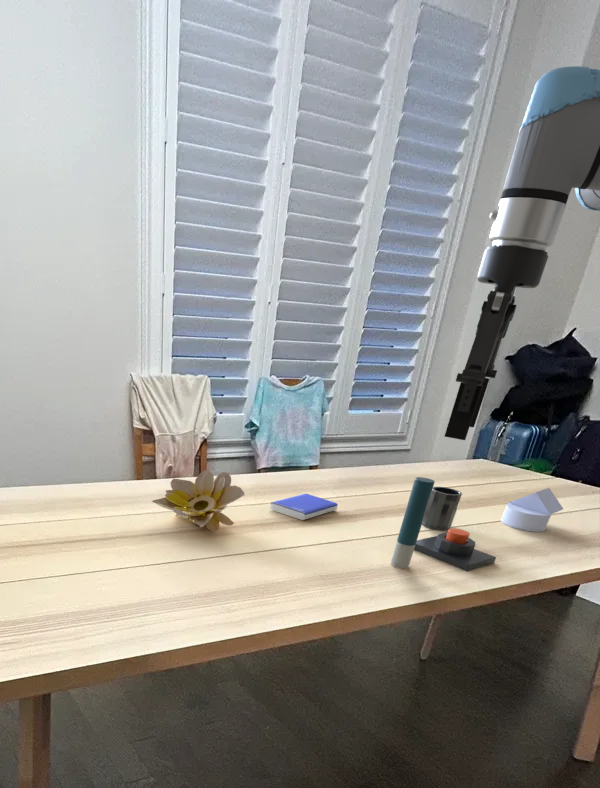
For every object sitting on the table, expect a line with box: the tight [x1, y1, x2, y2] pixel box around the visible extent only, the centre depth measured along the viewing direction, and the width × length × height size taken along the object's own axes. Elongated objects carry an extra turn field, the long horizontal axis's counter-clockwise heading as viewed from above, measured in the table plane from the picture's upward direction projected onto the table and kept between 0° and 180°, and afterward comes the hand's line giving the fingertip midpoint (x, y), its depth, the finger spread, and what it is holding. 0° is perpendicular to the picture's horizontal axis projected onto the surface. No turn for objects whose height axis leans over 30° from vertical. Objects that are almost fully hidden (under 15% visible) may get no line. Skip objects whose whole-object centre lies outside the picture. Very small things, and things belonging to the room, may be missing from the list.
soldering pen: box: [390, 476, 435, 570], centre depth 102 cm, size 3×3×14 cm
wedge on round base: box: [500, 487, 564, 533], centre depth 135 cm, size 9×7×13 cm
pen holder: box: [421, 486, 463, 532], centre depth 126 cm, size 6×6×7 cm
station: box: [414, 532, 497, 572], centre depth 112 cm, size 12×9×3 cm
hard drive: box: [269, 493, 338, 521], centre depth 127 cm, size 2×8×12 cm
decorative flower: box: [151, 469, 246, 532], centre depth 111 cm, size 15×11×10 cm
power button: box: [446, 528, 470, 544], centre depth 111 cm, size 4×4×2 cm
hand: (459, 431), depth 90 cm, fingers open, 13 cm apart
